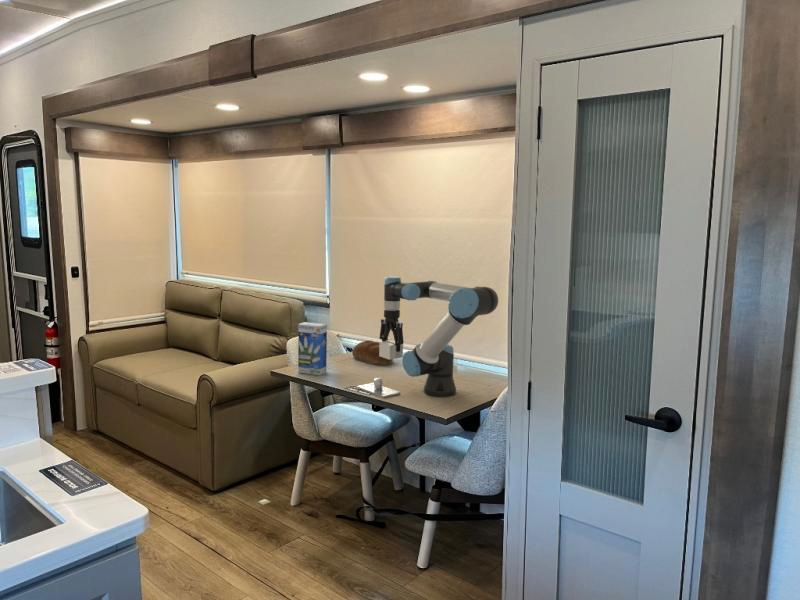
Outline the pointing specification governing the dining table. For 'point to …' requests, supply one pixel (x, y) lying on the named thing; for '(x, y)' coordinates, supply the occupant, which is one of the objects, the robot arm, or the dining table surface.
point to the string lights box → (312, 348)
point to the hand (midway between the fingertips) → (390, 356)
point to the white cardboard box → (389, 349)
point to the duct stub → (378, 389)
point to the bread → (369, 353)
